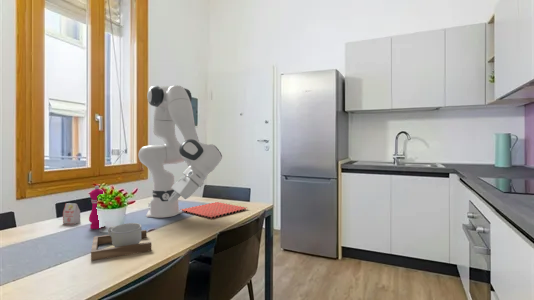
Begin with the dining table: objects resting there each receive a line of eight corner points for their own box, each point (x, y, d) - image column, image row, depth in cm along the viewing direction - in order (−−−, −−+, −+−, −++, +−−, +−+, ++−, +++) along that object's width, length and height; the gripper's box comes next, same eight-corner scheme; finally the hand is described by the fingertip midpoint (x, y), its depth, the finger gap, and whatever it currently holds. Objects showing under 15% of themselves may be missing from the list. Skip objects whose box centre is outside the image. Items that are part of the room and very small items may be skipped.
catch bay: (93, 244, 120) (93, 236, 120) (146, 236, 129) (146, 229, 129) (91, 260, 104) (90, 252, 103) (151, 250, 112) (151, 242, 112)
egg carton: (217, 204, 196) (216, 201, 196) (248, 211, 178) (248, 207, 178) (179, 212, 175) (179, 209, 175) (211, 220, 157) (211, 216, 157)
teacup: (147, 245, 119) (147, 225, 119) (123, 254, 109) (122, 232, 109) (125, 239, 126) (124, 220, 125) (99, 247, 116) (99, 227, 116)
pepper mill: (98, 229, 140) (97, 187, 139) (85, 229, 141) (84, 186, 141) (109, 225, 147) (109, 184, 146) (97, 224, 148) (96, 184, 148)
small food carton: (69, 221, 155) (68, 202, 154) (80, 222, 153) (79, 203, 153) (63, 223, 151) (62, 204, 151) (74, 224, 149) (73, 204, 149)
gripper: (182, 169, 137) (160, 193, 133) (193, 174, 119) (168, 201, 114) (192, 179, 139) (170, 202, 135) (204, 184, 121) (180, 211, 117)
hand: (169, 201), depth 124 cm, fingers closed
